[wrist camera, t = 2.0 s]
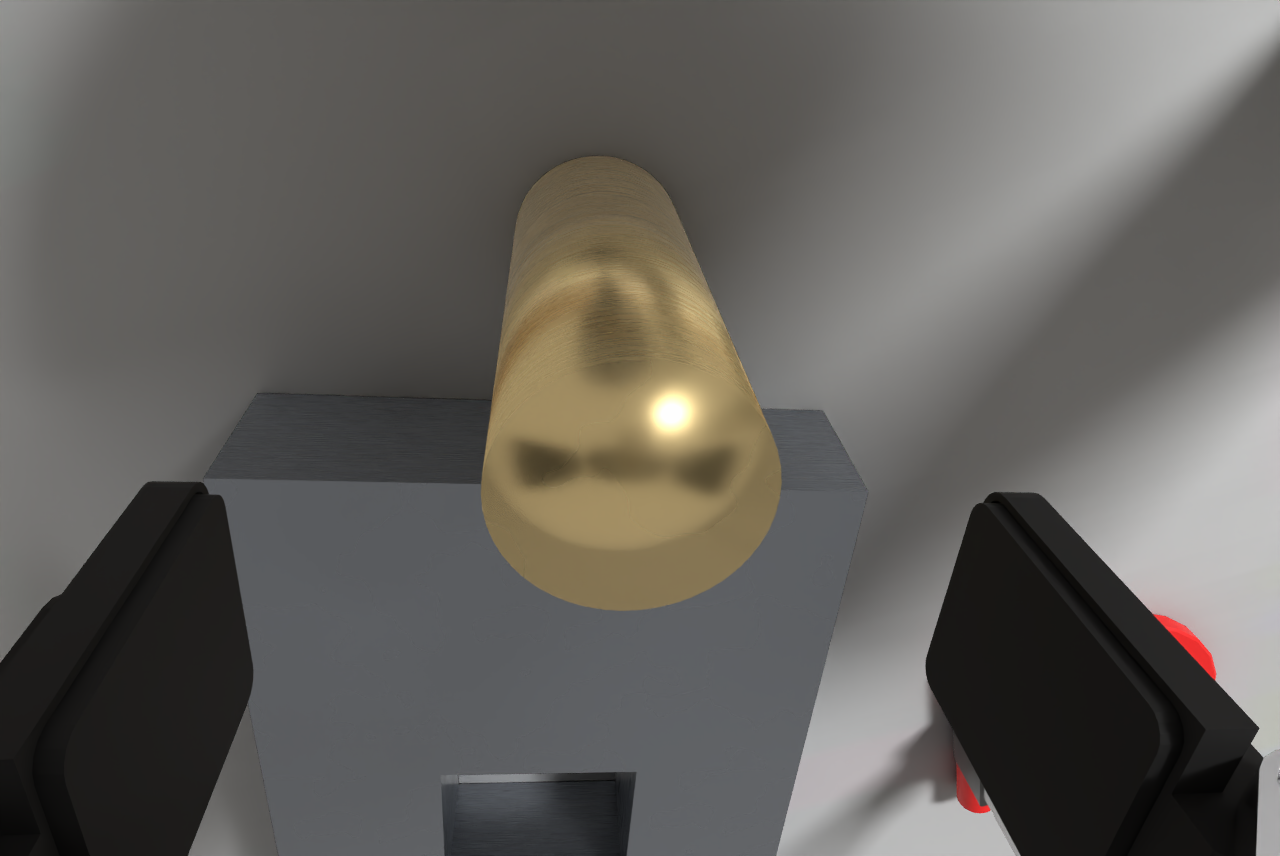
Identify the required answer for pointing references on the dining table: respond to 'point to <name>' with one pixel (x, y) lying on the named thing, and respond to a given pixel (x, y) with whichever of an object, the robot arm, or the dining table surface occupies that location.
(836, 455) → the grey block with hole
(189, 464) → the dining table surface
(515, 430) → the brass pin
